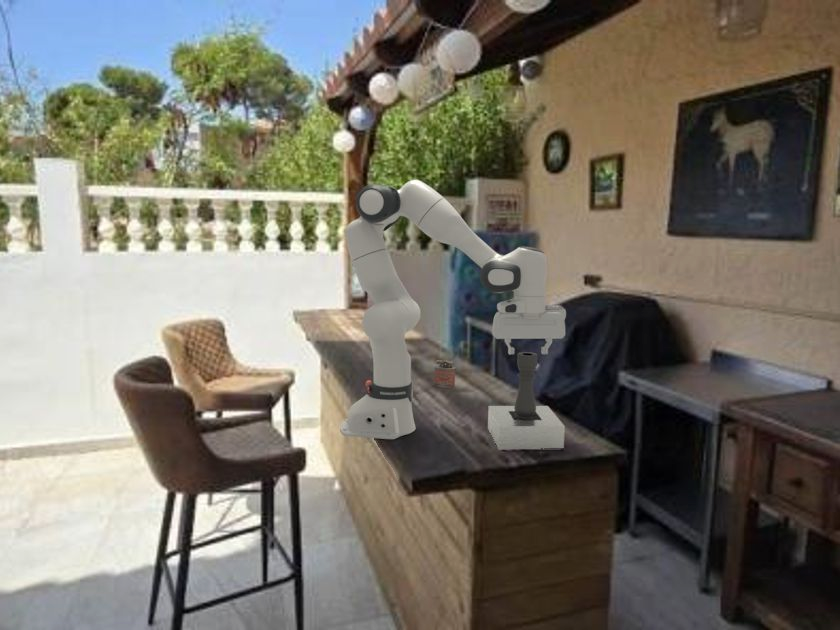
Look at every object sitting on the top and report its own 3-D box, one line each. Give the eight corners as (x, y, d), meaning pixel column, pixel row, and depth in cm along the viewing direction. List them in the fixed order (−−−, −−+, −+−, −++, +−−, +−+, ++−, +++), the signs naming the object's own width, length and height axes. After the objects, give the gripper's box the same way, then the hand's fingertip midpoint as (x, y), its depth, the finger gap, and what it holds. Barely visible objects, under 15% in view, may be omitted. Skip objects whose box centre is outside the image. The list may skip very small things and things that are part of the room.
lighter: (455, 386, 226) (456, 360, 225) (454, 388, 223) (454, 362, 222) (435, 384, 229) (435, 358, 227) (433, 386, 225) (433, 360, 224)
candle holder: (508, 438, 173) (511, 353, 169) (521, 433, 177) (524, 350, 173) (526, 444, 168) (530, 357, 164) (539, 439, 173) (543, 354, 169)
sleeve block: (498, 450, 163) (499, 426, 162) (487, 428, 181) (488, 405, 180) (563, 450, 164) (564, 426, 163) (546, 428, 182) (547, 405, 181)
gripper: (563, 303, 170) (561, 351, 172) (491, 303, 169) (490, 351, 171) (569, 306, 164) (567, 356, 166) (495, 307, 163) (494, 356, 165)
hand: (527, 354), depth 169 cm, fingers open, 8 cm apart
